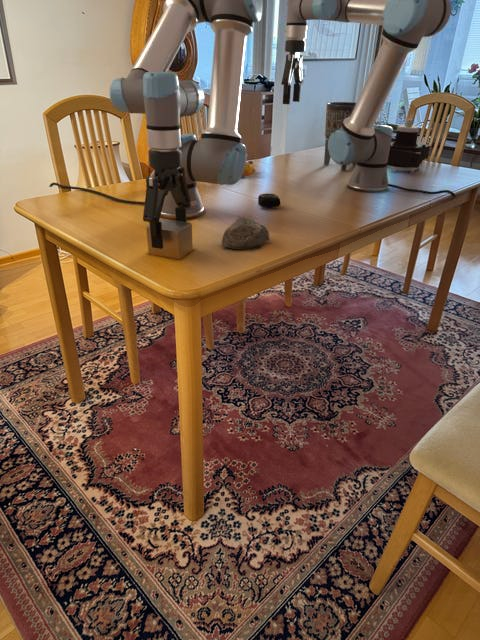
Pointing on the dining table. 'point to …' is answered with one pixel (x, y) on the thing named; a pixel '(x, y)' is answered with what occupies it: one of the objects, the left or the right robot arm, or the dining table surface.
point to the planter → (336, 123)
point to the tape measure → (269, 200)
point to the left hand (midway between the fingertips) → (170, 239)
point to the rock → (245, 234)
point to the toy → (248, 169)
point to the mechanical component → (407, 149)
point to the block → (172, 239)
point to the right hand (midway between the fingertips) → (291, 103)
